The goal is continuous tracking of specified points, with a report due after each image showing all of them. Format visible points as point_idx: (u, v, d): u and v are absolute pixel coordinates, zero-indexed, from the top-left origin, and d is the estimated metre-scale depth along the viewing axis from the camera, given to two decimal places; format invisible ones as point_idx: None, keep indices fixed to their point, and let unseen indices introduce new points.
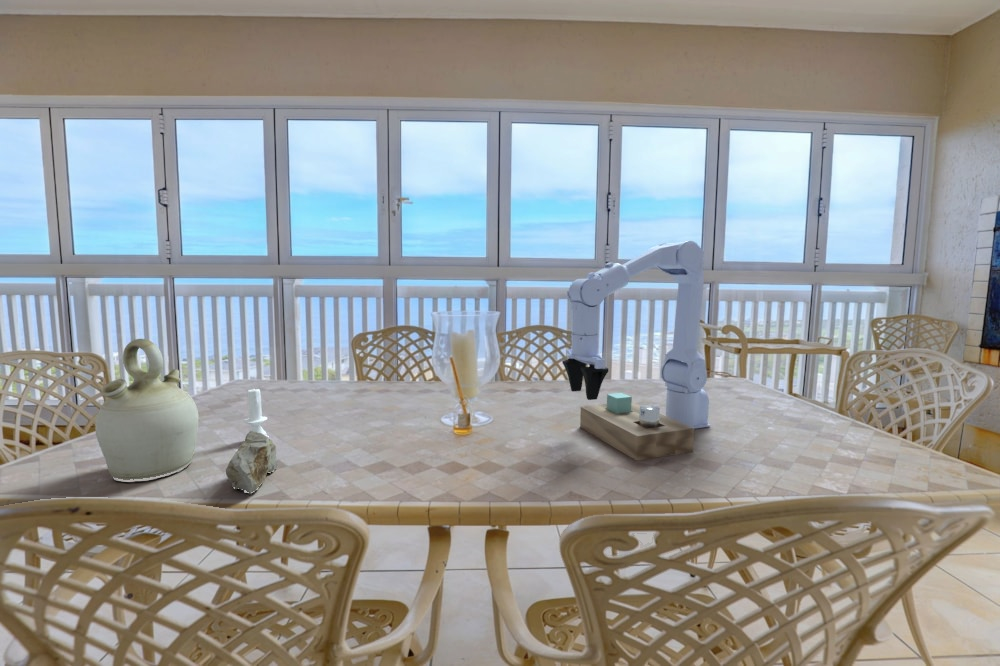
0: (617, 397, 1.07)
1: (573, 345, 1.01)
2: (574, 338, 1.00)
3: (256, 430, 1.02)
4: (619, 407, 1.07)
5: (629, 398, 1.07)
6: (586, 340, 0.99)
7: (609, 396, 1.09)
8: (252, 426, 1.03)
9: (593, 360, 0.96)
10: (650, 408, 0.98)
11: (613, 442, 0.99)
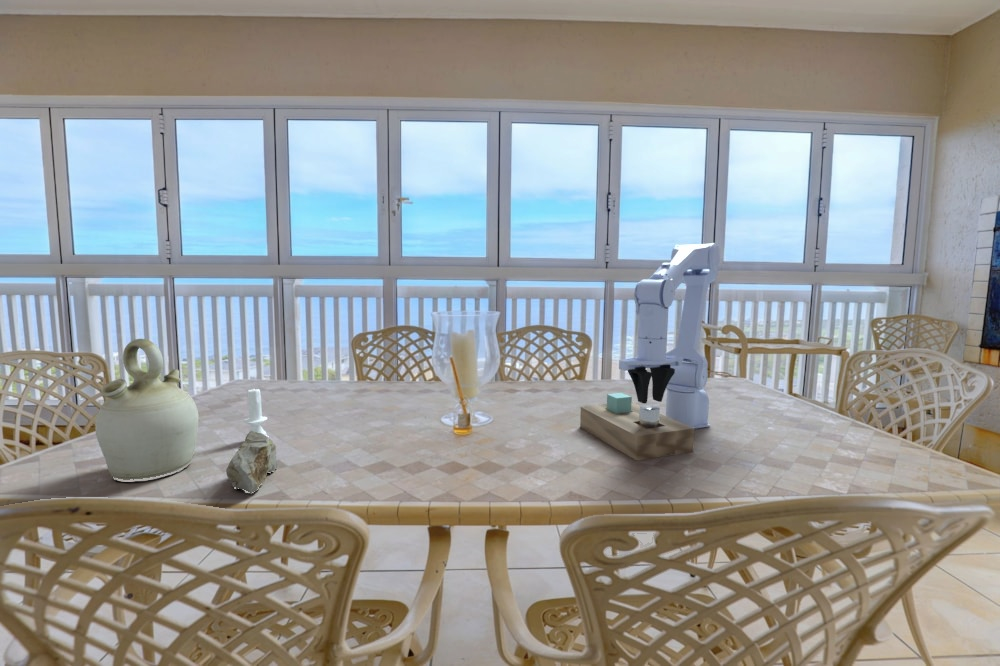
0: (617, 397, 1.07)
1: None
2: None
3: (256, 430, 1.02)
4: (619, 407, 1.07)
5: (629, 398, 1.07)
6: (638, 342, 0.97)
7: (609, 396, 1.09)
8: (252, 426, 1.03)
9: None
10: (650, 408, 0.98)
11: (613, 442, 0.99)
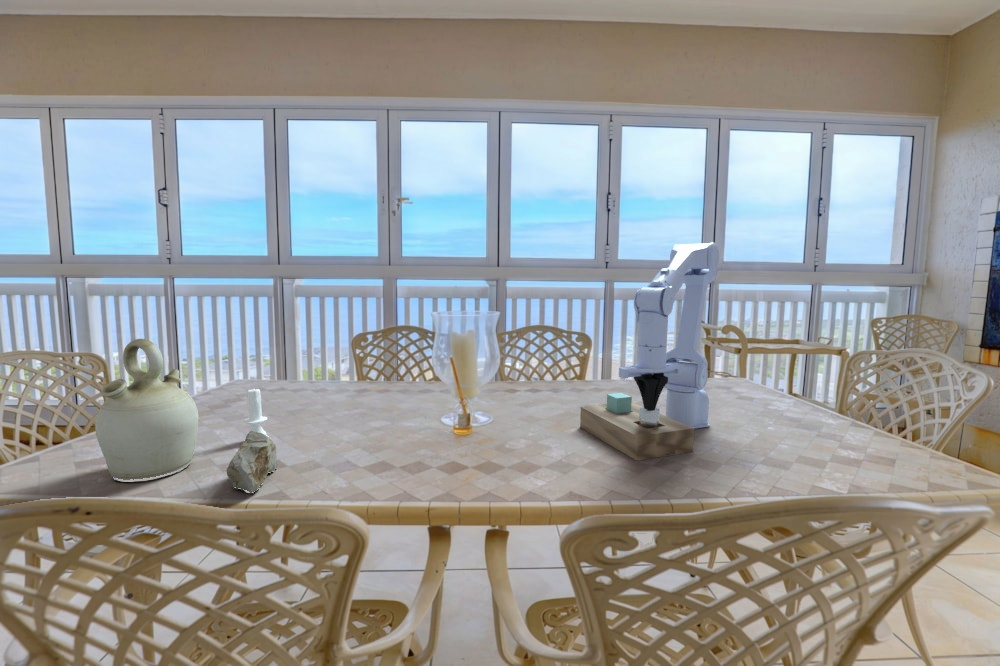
0: (617, 397, 1.07)
1: None
2: None
3: (256, 430, 1.02)
4: (619, 407, 1.07)
5: (629, 398, 1.07)
6: (638, 350, 0.97)
7: (609, 396, 1.09)
8: (252, 426, 1.03)
9: None
10: None
11: (613, 442, 0.99)
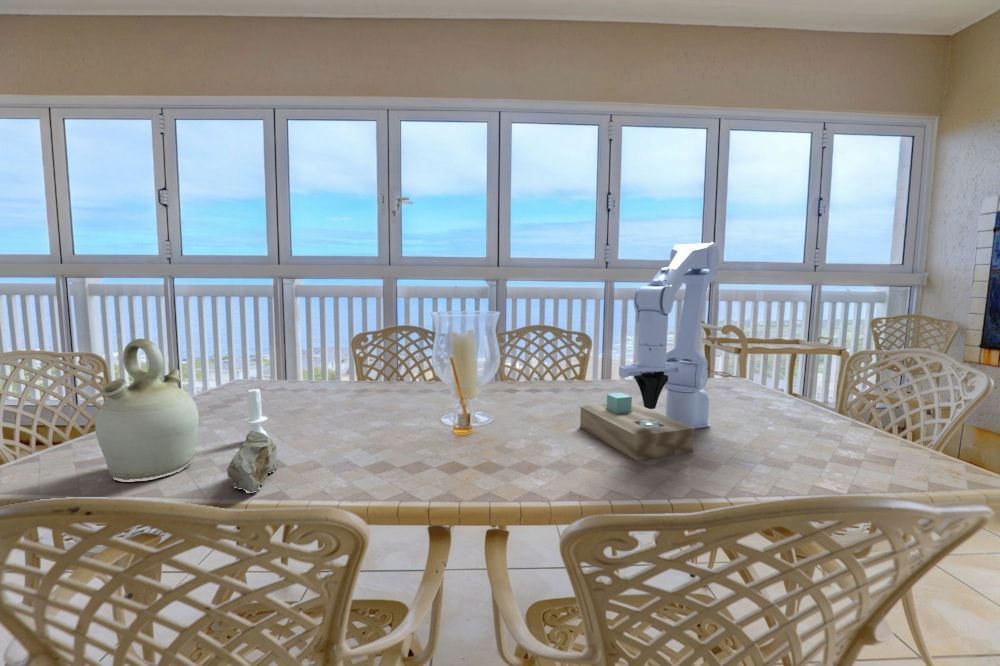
0: (617, 397, 1.07)
1: None
2: None
3: (256, 430, 1.02)
4: (619, 407, 1.07)
5: (629, 398, 1.07)
6: (638, 349, 0.97)
7: (609, 396, 1.09)
8: (252, 426, 1.03)
9: None
10: (649, 423, 0.98)
11: (613, 442, 0.99)
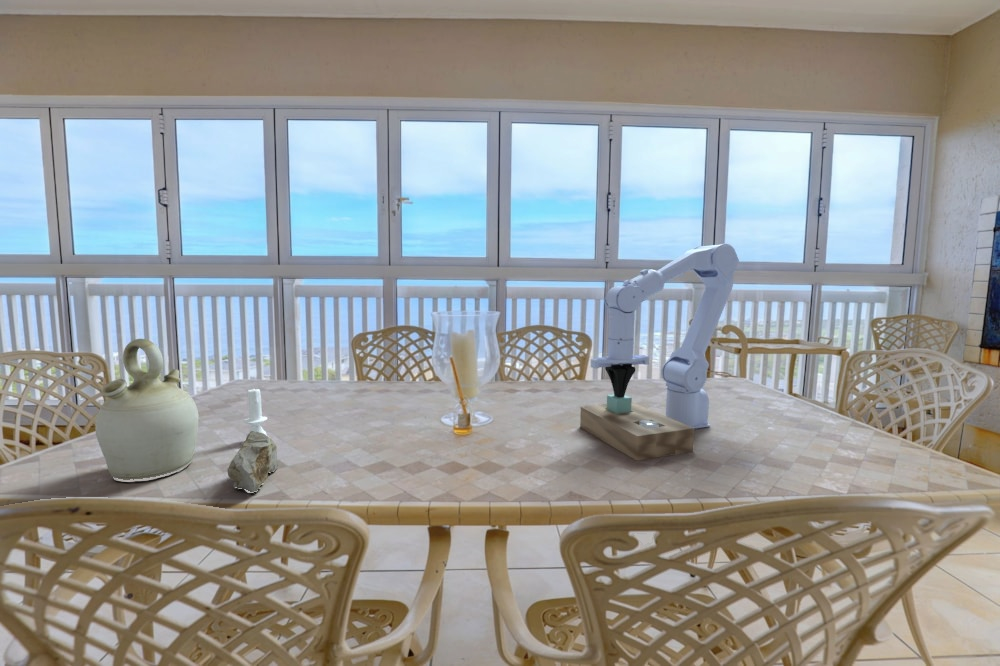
0: (617, 398, 1.07)
1: None
2: None
3: (256, 430, 1.02)
4: (619, 407, 1.07)
5: (629, 399, 1.07)
6: (608, 343, 1.07)
7: (609, 397, 1.09)
8: (252, 426, 1.03)
9: None
10: (649, 423, 0.98)
11: (613, 442, 0.99)
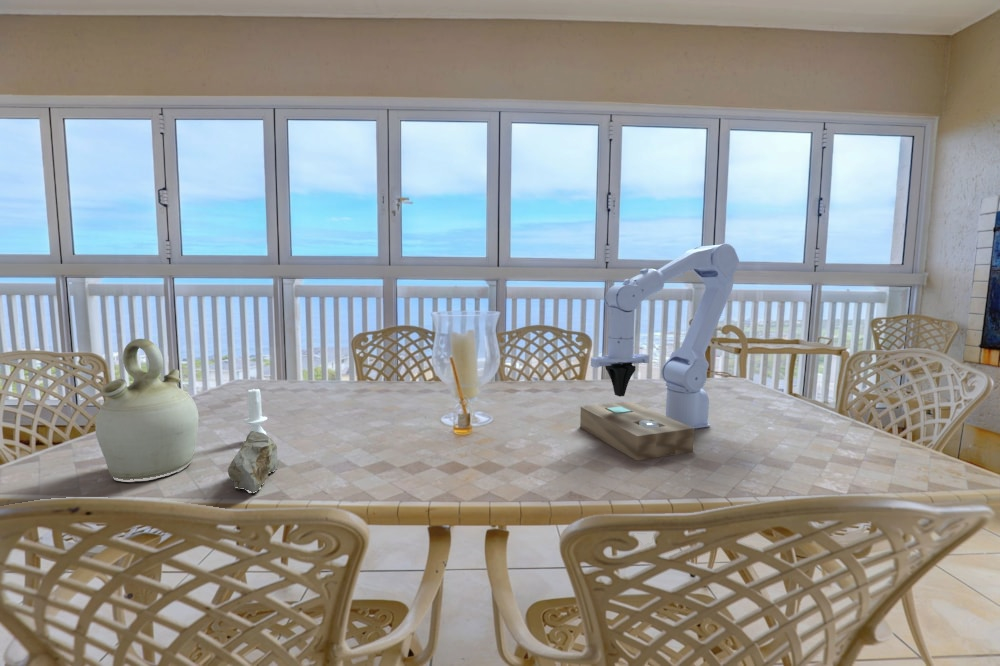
0: (617, 411, 1.07)
1: None
2: None
3: (256, 430, 1.02)
4: None
5: None
6: (608, 342, 1.07)
7: (609, 410, 1.09)
8: (252, 426, 1.03)
9: None
10: (649, 423, 0.98)
11: (613, 442, 0.99)
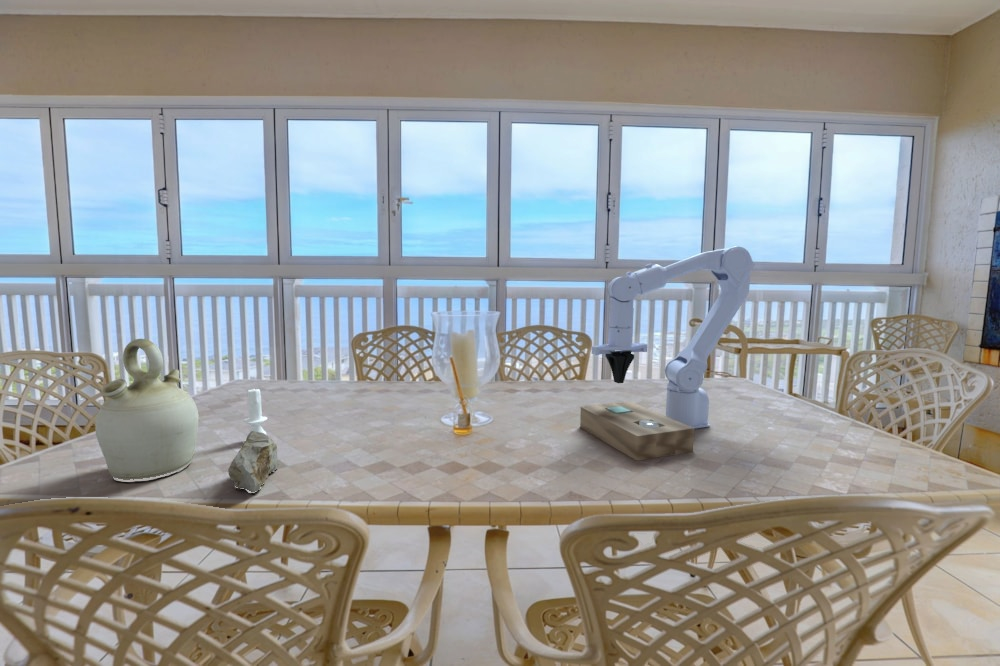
0: (617, 411, 1.07)
1: None
2: None
3: (256, 430, 1.02)
4: None
5: None
6: (609, 331, 1.12)
7: (609, 410, 1.09)
8: (252, 426, 1.03)
9: None
10: (649, 423, 0.98)
11: (613, 442, 0.99)
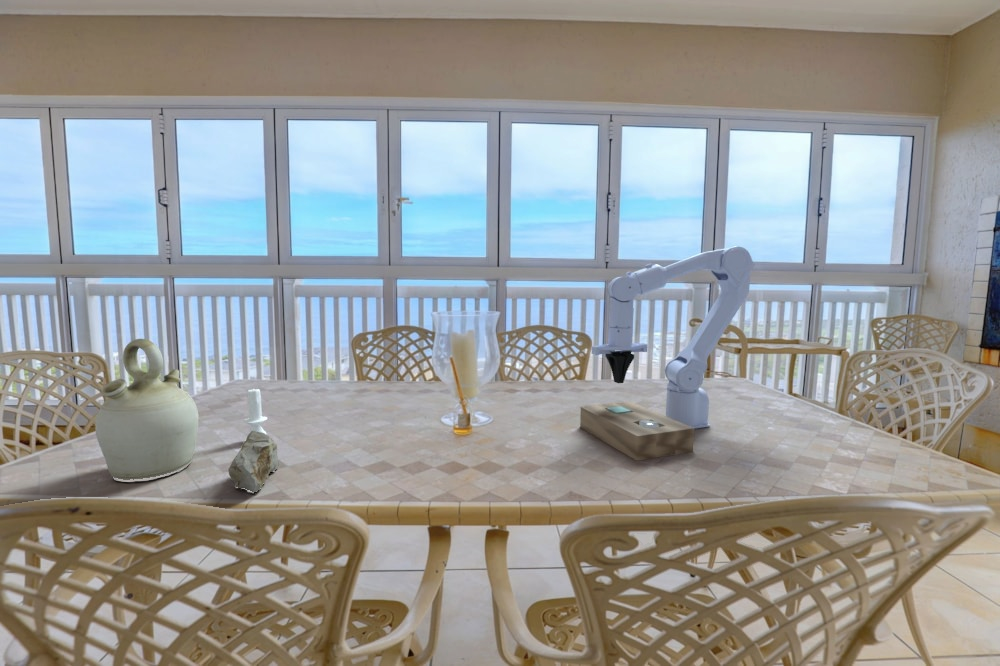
0: (617, 411, 1.07)
1: None
2: None
3: (256, 430, 1.02)
4: None
5: None
6: (609, 331, 1.12)
7: (609, 410, 1.09)
8: (252, 426, 1.03)
9: None
10: (649, 423, 0.98)
11: (613, 442, 0.99)
